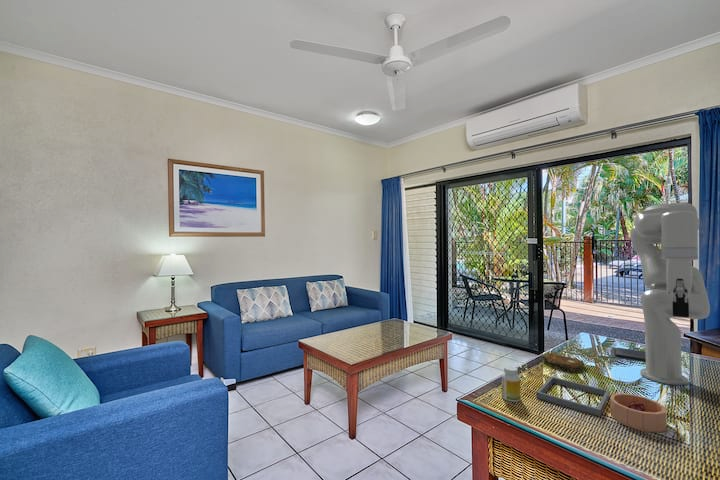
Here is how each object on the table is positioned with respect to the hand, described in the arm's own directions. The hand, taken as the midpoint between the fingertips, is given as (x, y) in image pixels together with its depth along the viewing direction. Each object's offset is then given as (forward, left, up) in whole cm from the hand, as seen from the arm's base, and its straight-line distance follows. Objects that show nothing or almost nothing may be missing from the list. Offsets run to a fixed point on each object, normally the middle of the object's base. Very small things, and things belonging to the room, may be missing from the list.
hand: (680, 313), depth 95 cm
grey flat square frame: (+10, -25, -28) cm, 39 cm away
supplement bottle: (+24, -39, -28) cm, 54 cm away
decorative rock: (-18, -35, -29) cm, 48 cm away
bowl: (+14, -9, -28) cm, 33 cm away
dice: (+14, -9, -28) cm, 32 cm away
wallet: (-51, -13, -29) cm, 60 cm away
